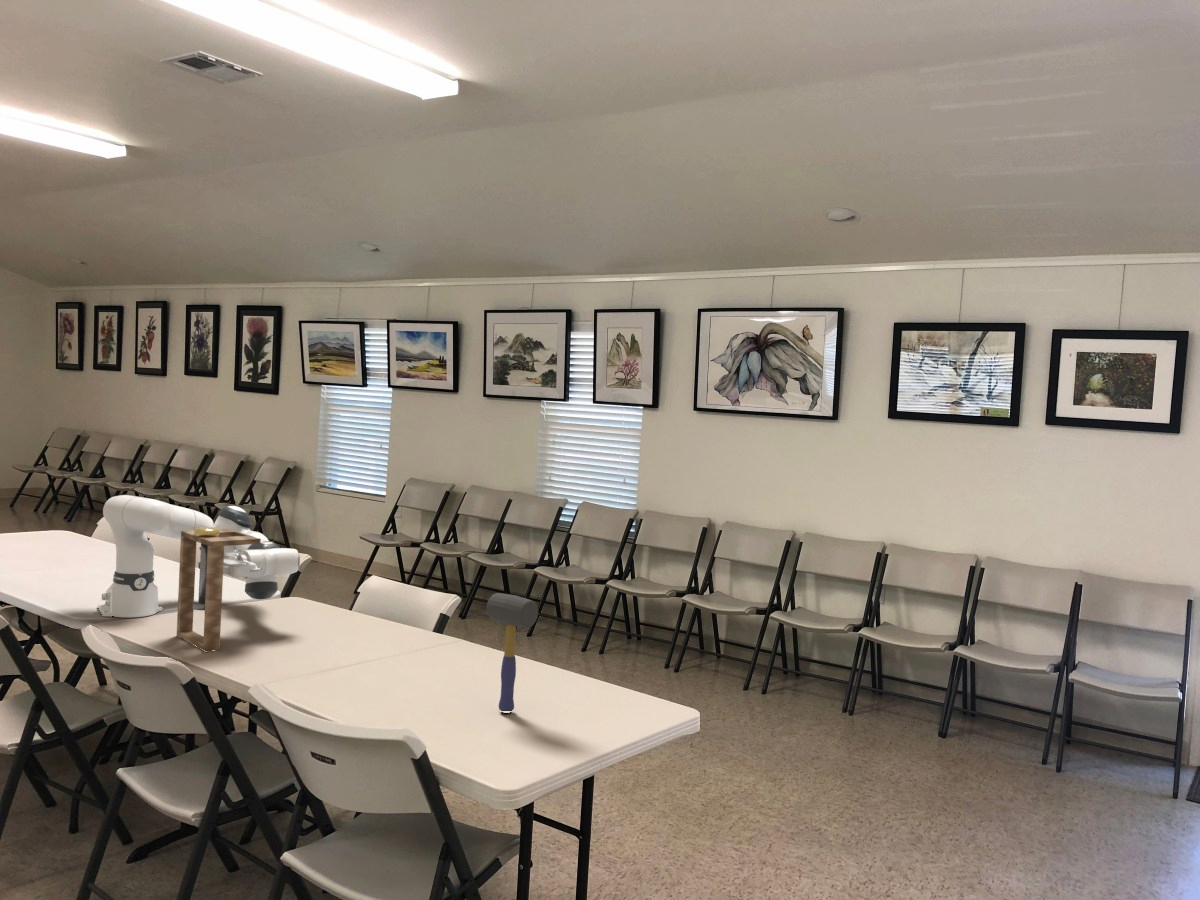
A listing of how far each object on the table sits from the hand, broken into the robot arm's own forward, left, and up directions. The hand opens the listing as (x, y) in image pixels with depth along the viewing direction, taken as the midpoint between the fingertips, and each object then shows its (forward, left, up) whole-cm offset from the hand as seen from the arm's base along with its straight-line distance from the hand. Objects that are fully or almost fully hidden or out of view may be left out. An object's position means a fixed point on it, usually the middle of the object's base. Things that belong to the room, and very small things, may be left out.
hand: (205, 567), depth 283 cm
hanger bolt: (0, 0, -12) cm, 12 cm away
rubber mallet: (+101, +36, -23) cm, 109 cm away
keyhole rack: (0, +4, -23) cm, 23 cm away
